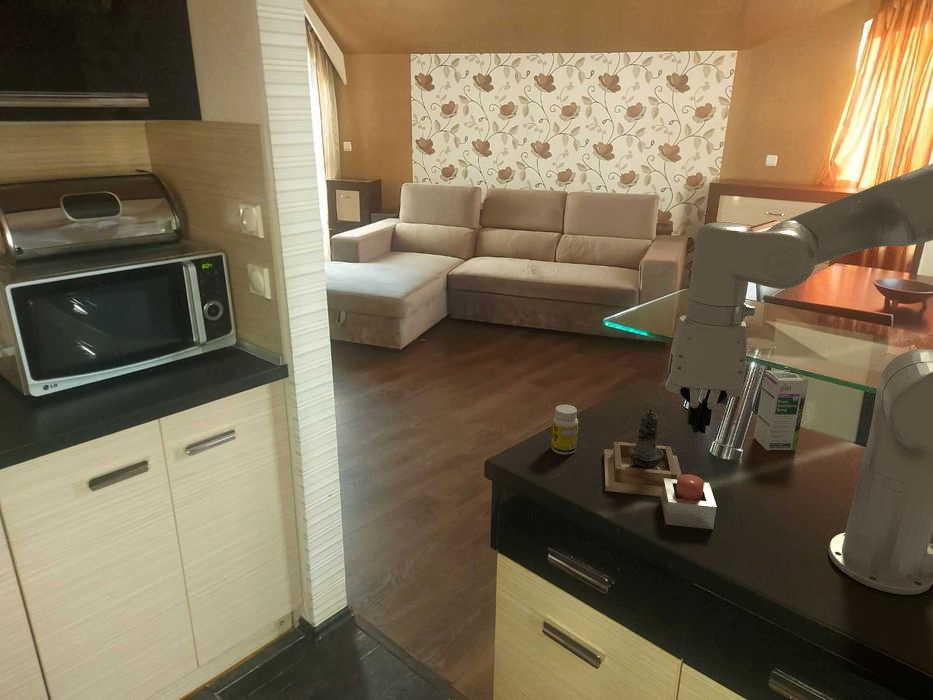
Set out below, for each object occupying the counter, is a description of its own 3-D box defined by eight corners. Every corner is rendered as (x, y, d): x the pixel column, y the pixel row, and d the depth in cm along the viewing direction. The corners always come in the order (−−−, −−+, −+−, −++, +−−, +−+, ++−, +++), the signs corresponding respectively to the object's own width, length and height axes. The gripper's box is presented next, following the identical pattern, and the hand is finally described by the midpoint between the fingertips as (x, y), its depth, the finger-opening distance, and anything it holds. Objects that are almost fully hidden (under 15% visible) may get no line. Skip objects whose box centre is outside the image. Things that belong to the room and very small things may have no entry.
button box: (705, 504, 105) (708, 482, 104) (713, 529, 99) (716, 506, 97) (661, 499, 106) (663, 478, 105) (665, 524, 100) (668, 501, 99)
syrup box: (766, 451, 122) (779, 380, 117) (752, 436, 128) (764, 368, 123) (796, 451, 122) (810, 380, 118) (781, 436, 128) (794, 368, 123)
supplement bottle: (549, 443, 125) (551, 403, 122) (573, 443, 125) (576, 403, 122) (553, 455, 120) (555, 414, 117) (578, 455, 120) (581, 414, 118)
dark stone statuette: (622, 473, 112) (629, 410, 108) (631, 459, 117) (637, 398, 113) (657, 482, 110) (664, 417, 106) (664, 466, 115) (671, 404, 111)
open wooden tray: (676, 460, 119) (678, 443, 117) (685, 498, 107) (688, 480, 105) (604, 453, 121) (605, 437, 120) (605, 490, 109) (607, 472, 108)
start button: (699, 492, 103) (702, 475, 102) (703, 506, 99) (706, 489, 98) (673, 489, 104) (675, 473, 103) (676, 503, 100) (679, 486, 99)
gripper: (763, 308, 94) (744, 422, 100) (657, 302, 96) (644, 414, 102) (777, 323, 87) (755, 445, 93) (662, 316, 89) (648, 435, 95)
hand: (697, 428), depth 98 cm, fingers closed
